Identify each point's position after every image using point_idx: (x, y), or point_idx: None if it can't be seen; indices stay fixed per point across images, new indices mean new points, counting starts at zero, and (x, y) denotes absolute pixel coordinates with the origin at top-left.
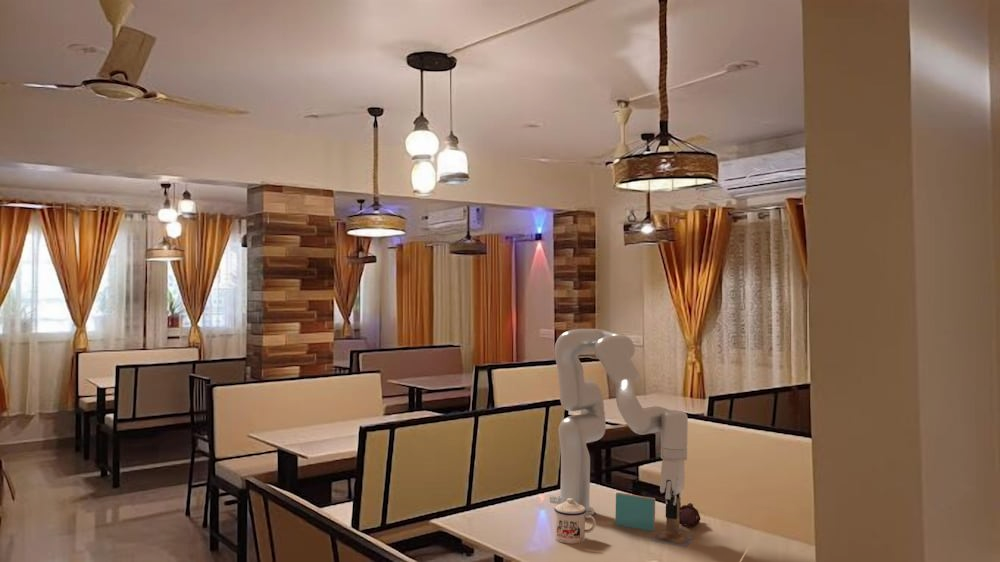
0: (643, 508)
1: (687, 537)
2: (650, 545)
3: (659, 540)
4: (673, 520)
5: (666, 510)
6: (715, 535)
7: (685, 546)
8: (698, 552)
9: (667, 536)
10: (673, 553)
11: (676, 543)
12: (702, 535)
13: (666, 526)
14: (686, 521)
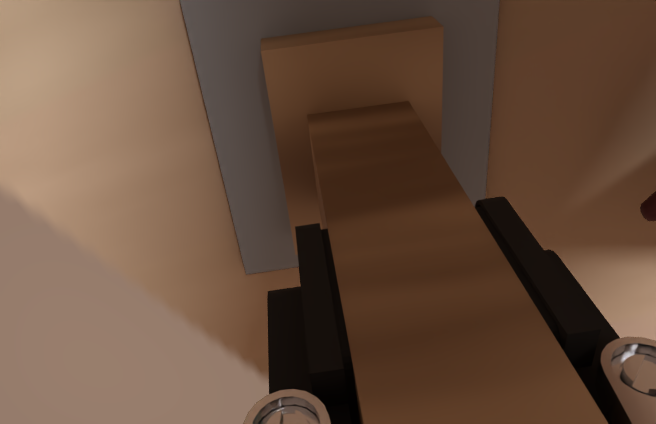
0: None
1: (472, 203)
2: (90, 20)
3: (247, 55)
4: None
5: (304, 295)
6: (632, 297)
7: (259, 266)
8: (238, 339)
9: (296, 131)
10: (81, 244)
11: (278, 196)
12: (600, 243)
13: (315, 158)
14: (643, 208)
